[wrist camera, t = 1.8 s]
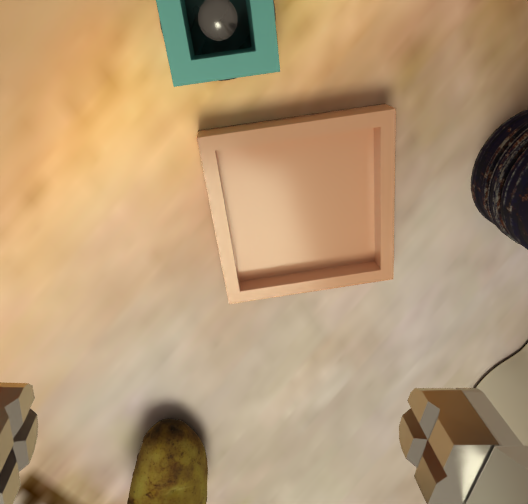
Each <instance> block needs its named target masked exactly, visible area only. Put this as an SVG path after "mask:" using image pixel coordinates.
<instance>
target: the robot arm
mask: <svg viewBox="0 0 528 504" xmlns="http://www.w3.org/2000/svg"><path fill="white" fill-rule="evenodd" d="M34 398H35V397H34V392H33V386H32V385H30V384H28V383H1V382H0V504H13V502H14V500H15V497H16V495H17V492H18V490H19V488H20V485H21V483H20V477H19V471H21V470H22V469H23V468H24V467H26V466H27V465H28V464H29V463H30V460H31V458H32V455H33V452H34V449H35V445H36V440H37V435H38V419H37V414H36V413H35V412H34V411H33V410H31V409H30V407H31V405H32V403H33V401H34ZM408 403H409V405H410V407H411V409H409V410H408V411H407V412H406V413H405V414H403V415H402V418H401V421H400V425H399V440H400V444H401V448H402V451H403V453H404V455H405V457H406V459H407V460H408V461H410V462H411V463H412V464H413V465H414V466H416V467H417V468H416V471H415V475H414V477H415V479H416V481H417V484H418V486H419V488H420V490H421V492H422V494H423V496H424V499H425V501H426V503H427V504H528V343H527V344H526V345H525V347H524V348H523V349H522V350H521V351H520V352H518V353H517V354H515V355H514V356H512V357H511V358H509V359H508V360H506V361H504V362H503V363H501V364H500V365H499V366H497V367H496V368H495V369H493V370H492V371H491V372H490V373H489V374H488V375H487V376H486V377H485V378H484V379H483V380H482V381H481V382H480V383H479V384H478V386H477V387H476V388H456V389H454V388H415V389H414V390H413V391H412V392H411V393H410V396H409V398H408Z"/></svg>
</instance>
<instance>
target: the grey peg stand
mask: <svg viewBox="0 0 528 504" xmlns="http://www.w3.org/2000/svg"><path fill="white" fill-rule="evenodd" d="M273 4H274V2H273ZM185 5H186V11H187V16H188V22H189V27H190V33H191V38H192V44H193V49H194V55H202V54H209V53H216V52H223V51H230V50H237V49H244V48H251V39H250V31H249V23H248V15H247V7H246V0H185ZM274 14H275V7H274ZM275 20H276V19H275ZM160 24H161V22H160ZM161 29H162V27H161ZM162 33H163V32H162ZM231 79H235V78H231ZM224 80H230V79H224ZM218 81H222V80H218Z"/></svg>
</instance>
